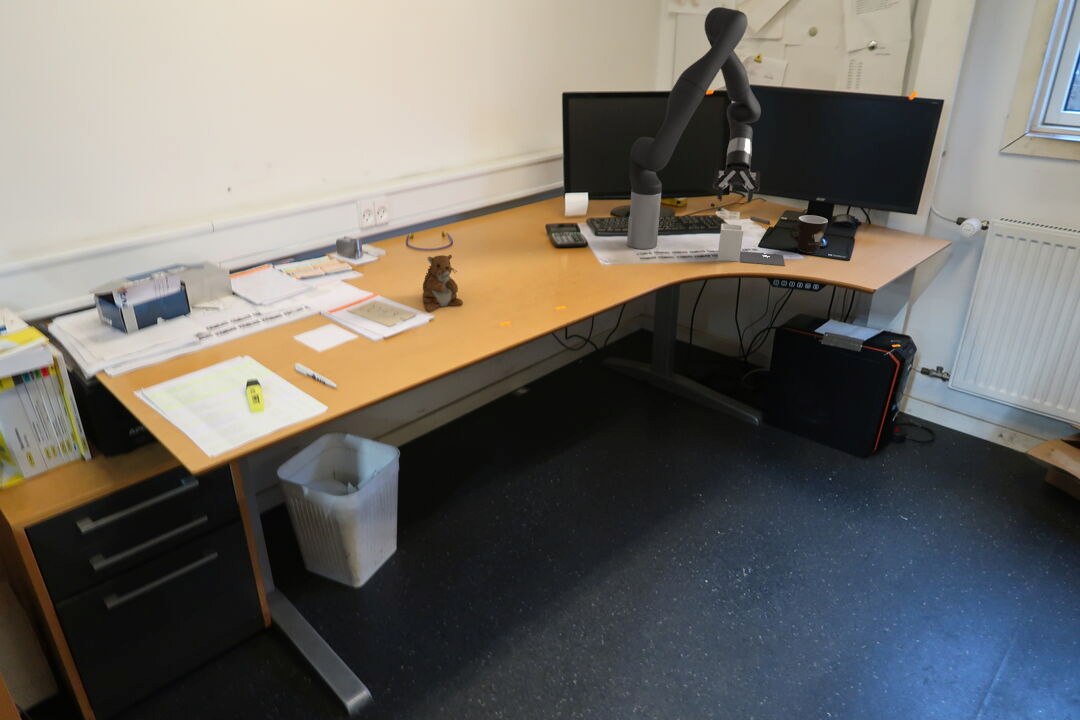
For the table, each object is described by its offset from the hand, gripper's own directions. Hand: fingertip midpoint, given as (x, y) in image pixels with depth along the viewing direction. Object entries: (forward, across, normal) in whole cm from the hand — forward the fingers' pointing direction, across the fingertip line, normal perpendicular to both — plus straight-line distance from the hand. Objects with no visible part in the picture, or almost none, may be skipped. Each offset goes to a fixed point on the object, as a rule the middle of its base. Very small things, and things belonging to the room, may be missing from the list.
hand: (734, 200), depth 232 cm
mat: (+18, +10, +3) cm, 20 cm away
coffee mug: (+9, +23, +12) cm, 27 cm away
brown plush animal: (+57, -74, -37) cm, 101 cm away
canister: (+18, 0, +2) cm, 18 cm away
